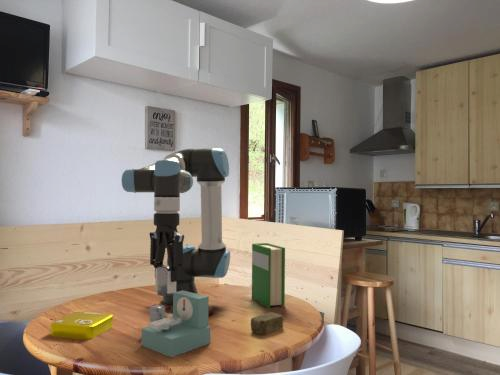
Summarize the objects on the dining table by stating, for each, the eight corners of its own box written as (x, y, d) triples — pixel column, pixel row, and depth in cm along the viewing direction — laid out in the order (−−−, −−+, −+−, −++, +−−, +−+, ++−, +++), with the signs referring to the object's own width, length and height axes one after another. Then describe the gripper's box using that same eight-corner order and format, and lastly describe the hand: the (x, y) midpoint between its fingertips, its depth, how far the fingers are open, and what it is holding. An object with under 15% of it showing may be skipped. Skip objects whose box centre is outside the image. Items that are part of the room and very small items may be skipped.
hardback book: (284, 306, 170) (285, 247, 170) (268, 308, 167) (268, 248, 168) (266, 296, 186) (267, 243, 187) (251, 297, 184) (252, 243, 184)
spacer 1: (158, 328, 140) (158, 304, 141) (167, 331, 137) (168, 306, 137) (146, 331, 137) (146, 307, 137) (155, 335, 133) (155, 310, 134)
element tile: (115, 326, 143) (115, 312, 143) (89, 341, 128) (90, 325, 128) (76, 323, 146) (76, 309, 146) (47, 337, 131) (47, 322, 131)
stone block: (249, 332, 137) (249, 317, 138) (271, 325, 146) (271, 310, 146) (262, 336, 133) (262, 321, 134) (284, 328, 142) (284, 314, 142)
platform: (173, 325, 127) (173, 315, 127) (182, 328, 124) (182, 318, 124) (149, 332, 120) (149, 322, 120) (157, 336, 118) (157, 325, 118)
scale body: (180, 333, 135) (180, 290, 136) (210, 343, 126) (210, 297, 127) (141, 345, 124) (142, 298, 124) (171, 357, 115) (172, 306, 115)
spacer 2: (167, 291, 126) (167, 264, 126) (177, 293, 123) (178, 266, 123) (153, 293, 122) (153, 266, 122) (163, 296, 119) (164, 268, 119)
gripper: (138, 211, 126) (137, 288, 126) (176, 213, 114) (175, 298, 114) (158, 211, 132) (157, 284, 131) (196, 213, 120) (195, 293, 120)
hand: (165, 290), depth 123 cm, fingers closed on spacer 2, 5 cm apart
